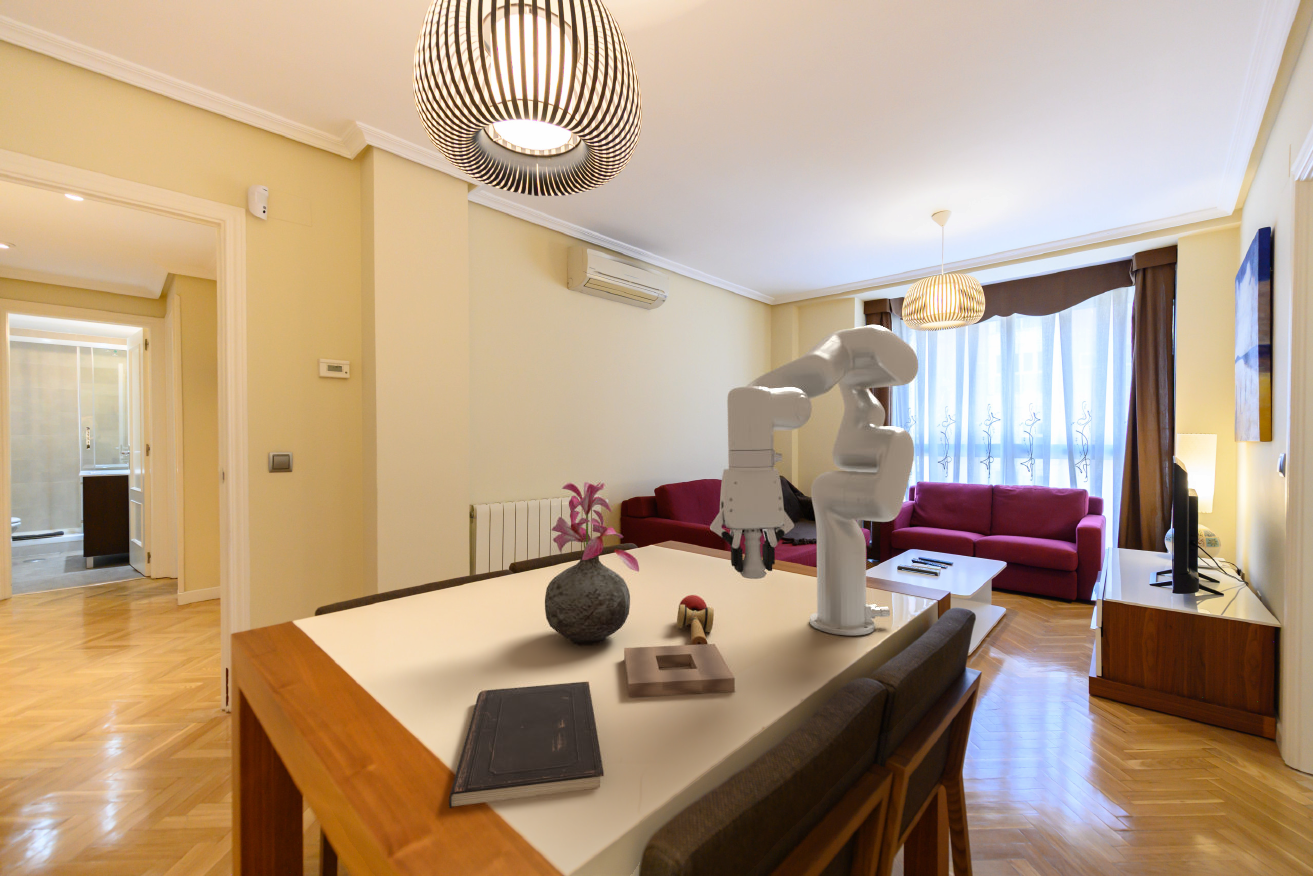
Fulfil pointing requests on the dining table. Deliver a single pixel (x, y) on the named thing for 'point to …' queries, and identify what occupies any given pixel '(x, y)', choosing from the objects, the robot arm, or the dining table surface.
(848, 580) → the robot arm
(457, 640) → the dining table surface
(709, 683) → the board
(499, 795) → the hardcover book
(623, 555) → the vase
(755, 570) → the rook chess piece
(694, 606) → the kendama
